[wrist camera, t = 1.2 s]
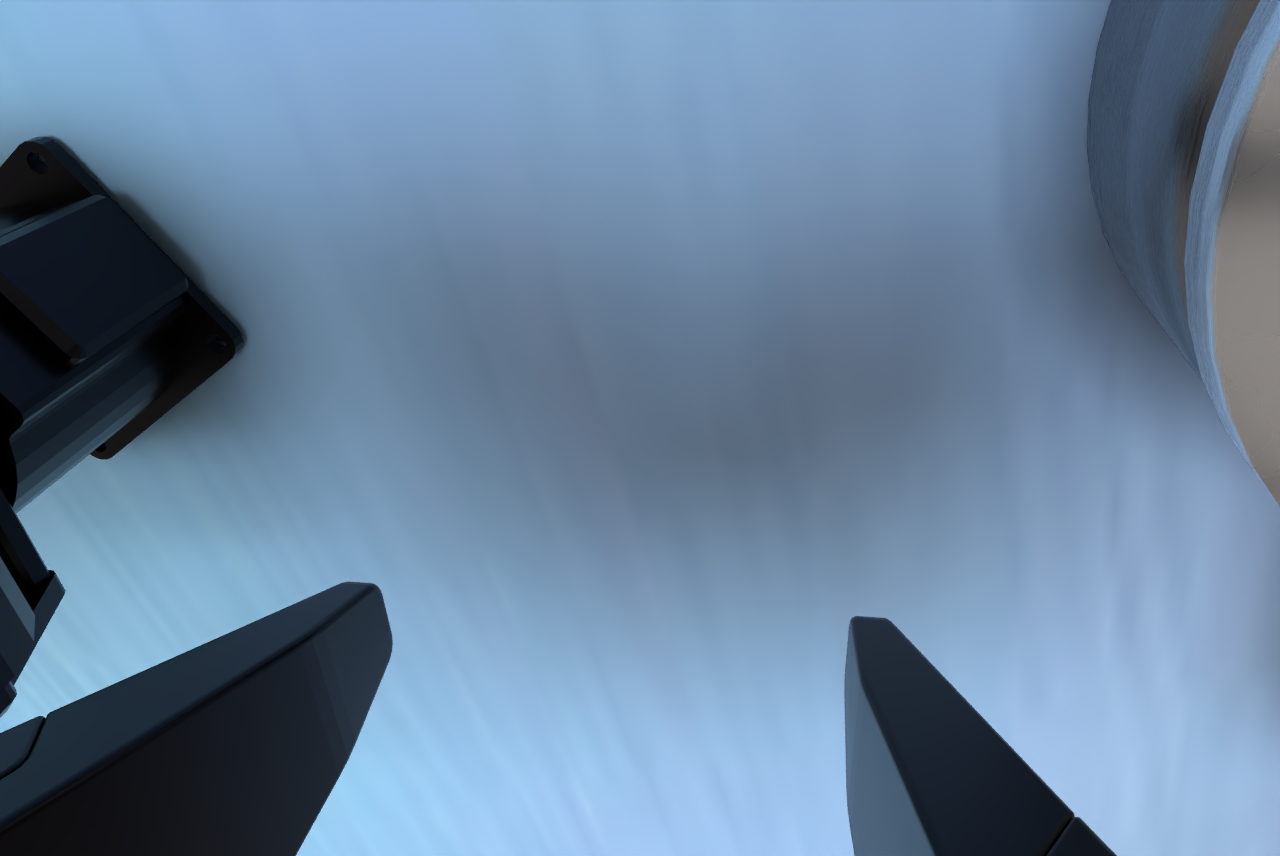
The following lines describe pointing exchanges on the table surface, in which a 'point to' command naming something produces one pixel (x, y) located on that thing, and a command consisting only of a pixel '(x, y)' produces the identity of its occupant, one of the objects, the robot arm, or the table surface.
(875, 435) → the table surface
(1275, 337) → the lid
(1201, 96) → the dark grey curved piece
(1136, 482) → the table surface
